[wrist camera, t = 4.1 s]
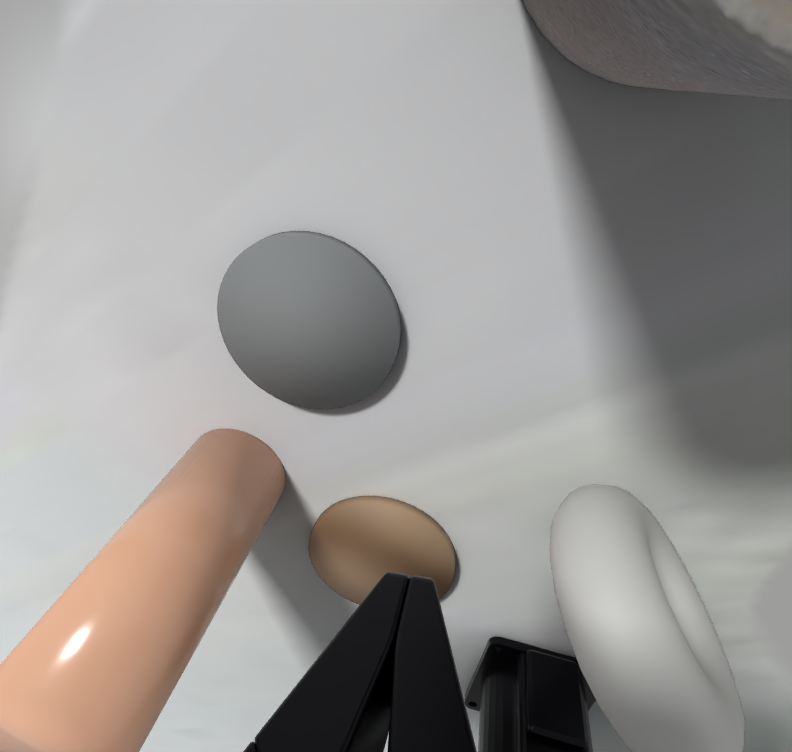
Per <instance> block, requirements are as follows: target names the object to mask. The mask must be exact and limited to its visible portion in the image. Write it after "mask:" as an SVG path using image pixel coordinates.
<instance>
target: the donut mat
mask: <svg viewBox="0 0 792 752" xmlns="http://www.w3.org/2000/svg"><path fill="white" fill-rule="evenodd" d="M309 555H310V558H311V562H312V564H313V566H314V568H315V570H316V572H317V573H318V575H319V576H320V577H321V578H322V580H323V581H324V582H325V583H326V584H327V585H328V586H329V587H330V588H332V589H333V590H334V591H335V592H337V593H338V594H340V595H341V596H343V597H344V598H346V599H348V600H350V601H352V602H354V603H356V604H359V605H360V604H361V603H362V602H363V601H364V599H365V598H366V597H367V596H368V594H369V593H370V592H371V591H372V589H373V588H374V587H375V586H376V584H377V583H378V582H379V580H380V579H381V578H382V577H383V576H384V574H386V573H387V572H396V573H402V574H407V575H408V576H409V577H410V578H411V576H414V575H416V576H422V577H429V578H432V579H433V580H434V582H435V585H436V589H437V593H438V597H439V599H440V598H441V597H442V596H443V595H444V594H445V593H446V592H447V591H448V589H449V588H450V586H451V584H452V581H453V577H454V571H455V551H454V548H453V545H452V543H451V541H450V539H449V537H448V535H447V534H446V532H445V531H444V529H443V528H442V527H441V526H440V525H439V524H438V523H437V522H436V521H435V520H434V519H433V518H431V517H430V516H429V515H427V514H426V513H425V512H423V511H421V510H420V509H418V508H416V507H414V506H412V505H410V504H407V503H405V502H402V501H399V500H396V499H391V498H387V497H380V496H359V497H353V498H348V499H345V500H342V501H339V502H337V503H335V504H333V505H332V506H330V507H329V508H327V509H326V510H325V511H324V512H323V513H322V514H321V515H320V517H319V518H318V520H317V521H316V523H315V526H314V528H313V530H312V533H311V535H310V539H309Z"/></svg>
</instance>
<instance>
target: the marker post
mask: <svg viewBox="0 0 792 752" xmlns="http://www.w3.org/2000/svg"><path fill="white" fill-rule="evenodd" d="M285 483H286V477H285V472H284V468H283V466H282V464H281V461H280V460H279V458H278V457H277V455H276V454H275V453H274V451H273V450H272V449H271V448H270V447H269V446H267V445H266V444H265V443H264V442H262V441H261V440H260V439H258V438H256V437H254V436H253V435H250V434H248V433H246V432H243V431H239V430H235V429H216V430H212V431H209V432H207V433H205V434H203V435H202V436H201V437H200V438H199V439H198V440H197V441H196V442H195V443H194V444H193V445H192V447H191V448H190V449H189V450H188V451H187V452H186V453H185V455H184V456H183V457H182V458H181V459H180V460H179V461H178V463H177V464H176V465H175V466H174V467H173V468H172V469H171V471H170V472H169V473H168V474H167V475H166V476H165V477H164V478H163V480H162V481H161V482H160V483H159V484H158V485H157V486H156V488H155V489H154V490H153V491H152V492H151V493H150V494H149V496H148V497H147V498H146V499H145V500H144V501H143V502H142V504H141V505H140V506H139V507H138V508H137V509H136V510H135V512H134V513H133V514H132V515H131V516H130V517H129V518H128V520H127V521H126V522H125V523H124V524H123V525H122V526H121V528H120V529H119V530H118V531H117V532H116V533H115V534H114V536H113V537H112V538H111V539H110V540H109V541H108V542H107V544H106V545H105V546H104V547H103V548H102V549H101V550H100V552H99V553H98V554H97V555H96V556H95V557H94V558H93V560H92V561H91V562H90V563H89V564H88V565H87V566H86V567H85V569H84V570H83V571H82V572H81V573H80V574H79V575H78V577H77V578H76V579H75V580H74V581H73V582H72V583H71V585H70V586H69V587H68V588H67V589H66V590H65V591H64V593H63V594H62V595H61V596H60V597H59V598H58V599H57V601H56V602H55V603H54V604H53V605H52V606H51V607H50V609H49V610H48V611H47V612H46V613H45V614H44V615H43V617H42V618H41V619H40V620H39V621H38V622H37V623H36V625H35V626H34V627H33V628H32V629H31V630H30V631H29V633H28V634H27V635H26V636H25V637H24V638H23V639H22V641H21V642H20V643H19V644H18V645H17V646H16V647H15V648H14V650H13V651H12V652H11V653H10V654H9V655H8V656H7V658H6V659H5V660H4V661H3V662H2V663H1V664H0V752H139V751H140V749H141V747H142V745H143V744H144V742H145V740H146V738H147V736H148V735H149V733H150V731H151V729H152V727H153V726H154V724H155V722H156V720H157V718H158V717H159V715H160V713H161V711H162V709H163V708H164V706H165V704H166V702H167V700H168V699H169V697H170V695H171V693H172V691H173V689H174V688H175V686H176V684H177V682H178V680H179V679H180V677H181V675H182V673H183V671H184V670H185V668H186V666H187V664H188V662H189V661H190V659H191V657H192V655H193V653H194V652H195V650H196V648H197V646H198V644H199V643H200V641H201V639H202V637H203V635H204V634H205V632H206V630H207V628H208V626H209V624H210V623H211V621H212V619H213V617H214V615H215V614H216V612H217V610H218V608H219V606H220V605H221V603H222V601H223V599H224V597H225V596H226V594H227V592H228V590H229V588H230V587H231V585H232V583H233V581H234V579H235V578H236V576H237V574H238V572H239V570H240V569H241V567H242V565H243V563H244V561H245V560H246V558H247V556H248V554H249V552H250V550H251V549H252V547H253V545H254V543H255V541H256V540H257V538H258V536H259V534H260V532H261V531H262V529H263V527H264V525H265V523H266V522H267V520H268V518H269V516H270V514H271V513H272V511H273V509H274V507H275V505H276V504H277V502H278V500H279V498H280V496H281V495H282V493H283V491H284V488H285Z"/></svg>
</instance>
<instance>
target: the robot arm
mask: <svg viewBox="0 0 792 752" xmlns="http://www.w3.org/2000/svg"><path fill="white" fill-rule="evenodd" d="M595 700H596V699H595V697H594V695H593V693H592V691H591V689H590V687H589V685H588V683H587V681H586V679H585V677H584V675H583V673H582V671H581V669H580V666H579V664H578V661H577V659H575V658H572V657H568V656H565V655H561V654H557V653H554V652H550V651H547V650H543V649H540V648H536V647H532V646H529V645H525V644H522V643H518V642H515V641H511V640H507V639H504V638H500V637H492V638H490V639H489V641H488V643H487V645H486V648H485V650H484V652H483V655H482V657H481V659H480V661H479V664H478V666H477V668H476V671H475V673H474V675H473V678H472V680H471V682H470V685H469V687H468V689H467V692H466V694H465V702H464V698H463V694H462V690H461V686H460V682H459V678H458V674H457V670H456V666H455V662H454V658H453V654H452V650H451V646H450V642H449V638H448V634H447V630H446V626H445V622H444V618H443V613H442V609H441V605H440V601H439V597H438V593H437V589H436V585H435V582H434V580H433V579H432V578H429V577H422V576H416V575H414V576H411V578H410V577H409V576H408V575H407V574H402V573H396V572H387V573H386V574H384V576H383V577H382V578H381V579H380V580H379V582H378V583H377V584H376V586H375V587H374V588H373V589H372V591H371V592H370V593H369V594H368V596H367V597H366V598H365V599H364V601H363V602H362V603H361V604H360V606H359V607H358V608H357V609H356V611H355V612H354V613H353V615H352V616H351V617H350V618H349V620H348V621H347V622H346V623H345V625H344V626H343V627H342V628H341V630H340V631H339V632H338V633H337V635H336V636H335V637H334V638H333V640H332V641H331V642H330V643H329V645H328V646H327V647H326V649H325V650H324V651H323V652H322V654H321V655H320V656H319V657H318V659H317V660H316V661H315V662H314V664H313V665H312V666H311V667H310V669H309V670H308V671H307V672H306V674H305V675H304V676H303V678H302V679H301V680H300V681H299V683H298V684H297V685H296V686H295V688H294V689H293V690H292V691H291V693H290V694H289V695H288V696H287V698H286V699H285V700H284V701H283V703H282V704H281V705H280V706H279V708H278V709H277V710H276V712H275V713H274V714H273V715H272V717H271V718H270V719H269V720H268V722H267V723H266V724H265V725H264V727H263V728H262V729H261V730H260V732H259V733H258V734H257V735H256V737H255V742H251V743H250V744H249V745H248V746H247V748H246V749H245V750H244V752H383V751H384V747H385V744H386V740H387V736H388V732H389V740H388V752H477V751H476V747H475V743H474V739H473V735H472V731H471V727H470V723H469V719H468V714H467V710H466V706H467V707H468V708H471V709H474V710H477V711H480V723H479V745H478V752H593V749H592V741H591V733H590V725H589V717H588V711H589V709H590V708H591V706H592V705H593V703H594V702H595ZM465 705H466V706H465Z"/></svg>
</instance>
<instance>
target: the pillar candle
mask: <svg viewBox="0 0 792 752" xmlns="http://www.w3.org/2000/svg"><path fill="white" fill-rule="evenodd" d="M523 2H524V5H525V8H526V9H527V11H528V13H529V14H530V15H531V17H532V19H533V20H534V22H535V24H536V26H537V28H538V29H539V31H540V32H541V33H542V35H543V36H544V37H545V38H546V39H547V40H548V41H550V43H551V44H552V45H553V46H554V47H555V48H556V49H557V50H558V51H559V52H560V53H561V54H562V55H563V56H564V57H566V58H567V59H568V60H570V61H571V62H572V63H574V64H575V65H577V66H579V67H581V68H582V69H584V70H586V71H587V72H589V73H592V74H595V75H597V76H599V77H601V78H603V79H605V80H608V81H611V82H614V83H618V84H623V85H627V86H634V87H646V88H657V89H666V90H675V91H690V92H691V91H692V92H703V93H716V94H726V95H740V96H752V97H763V98H772V99H788V100H792V0H523Z"/></svg>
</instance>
